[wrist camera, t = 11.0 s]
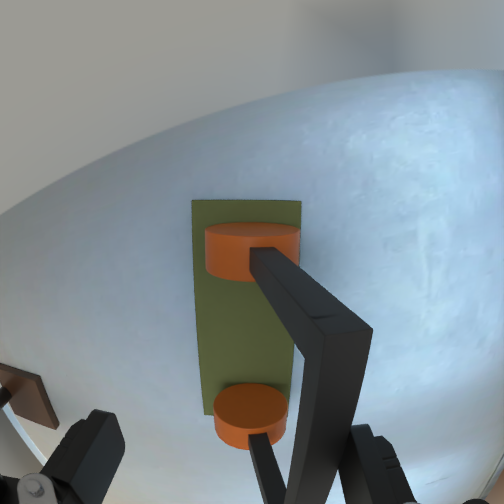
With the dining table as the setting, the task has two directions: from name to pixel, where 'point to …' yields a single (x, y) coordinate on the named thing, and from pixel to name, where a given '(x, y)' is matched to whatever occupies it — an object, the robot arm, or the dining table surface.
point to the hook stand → (26, 396)
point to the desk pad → (238, 308)
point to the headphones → (315, 367)
